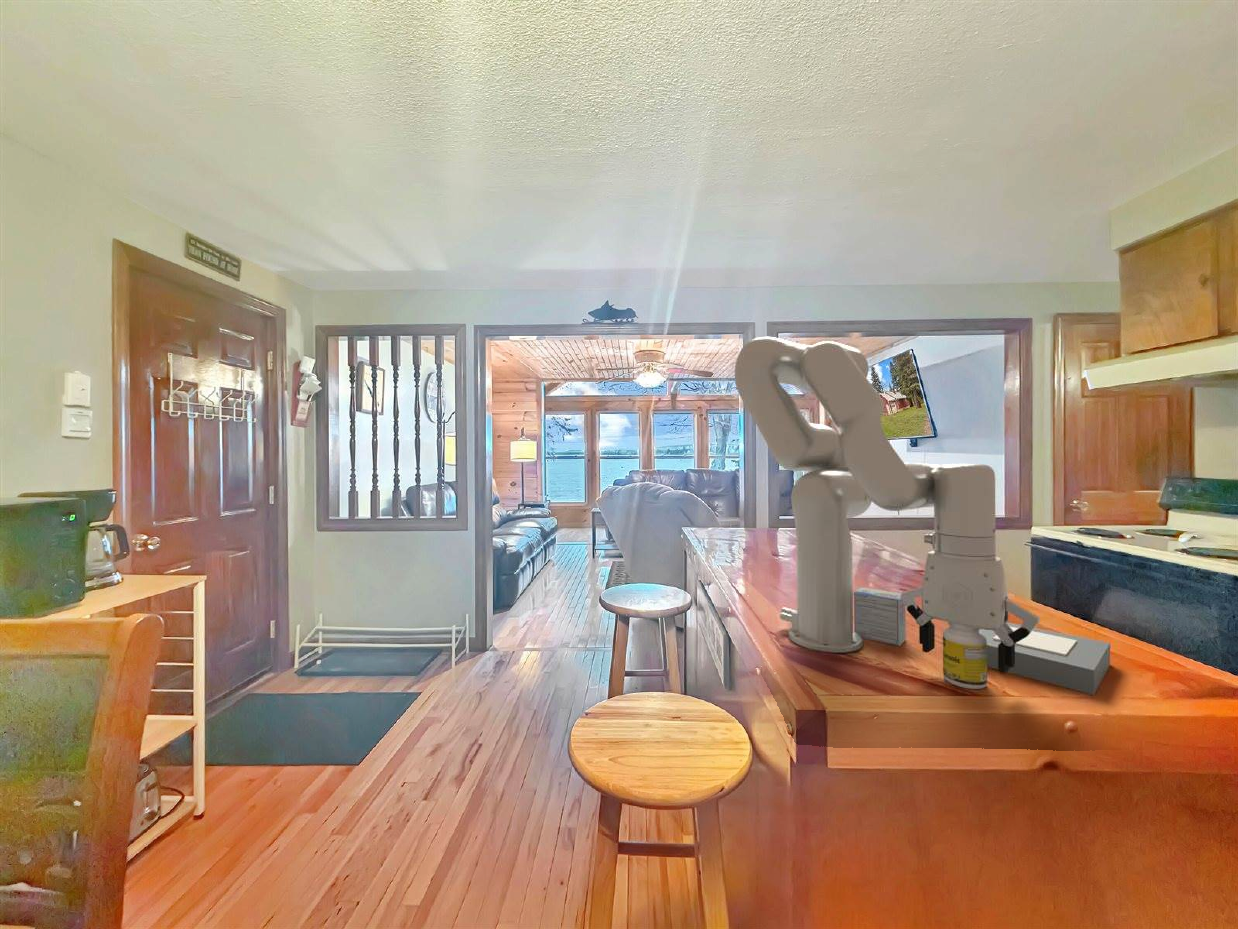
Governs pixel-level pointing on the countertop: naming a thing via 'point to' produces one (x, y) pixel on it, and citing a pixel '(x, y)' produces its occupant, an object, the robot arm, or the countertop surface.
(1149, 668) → the countertop surface
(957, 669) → the supplement bottle
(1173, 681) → the countertop surface
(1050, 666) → the plate
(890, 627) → the medicine box
